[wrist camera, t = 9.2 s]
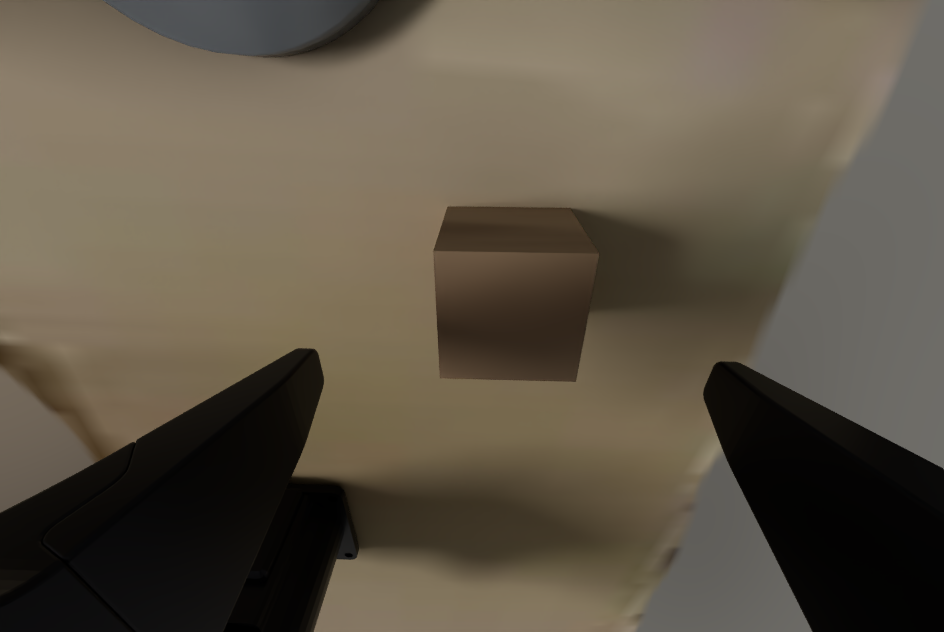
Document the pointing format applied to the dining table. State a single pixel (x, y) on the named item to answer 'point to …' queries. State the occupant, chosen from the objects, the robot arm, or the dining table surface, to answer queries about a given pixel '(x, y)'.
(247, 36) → the grey domed disc
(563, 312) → the walnut block
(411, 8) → the dining table surface
